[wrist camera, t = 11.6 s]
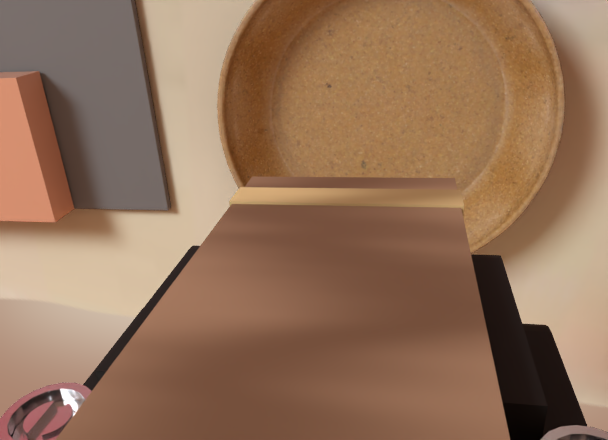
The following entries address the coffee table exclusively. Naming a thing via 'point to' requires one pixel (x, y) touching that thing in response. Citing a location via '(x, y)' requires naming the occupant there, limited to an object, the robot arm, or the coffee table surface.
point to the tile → (29, 153)
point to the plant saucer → (397, 97)
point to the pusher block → (313, 325)
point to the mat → (92, 96)
